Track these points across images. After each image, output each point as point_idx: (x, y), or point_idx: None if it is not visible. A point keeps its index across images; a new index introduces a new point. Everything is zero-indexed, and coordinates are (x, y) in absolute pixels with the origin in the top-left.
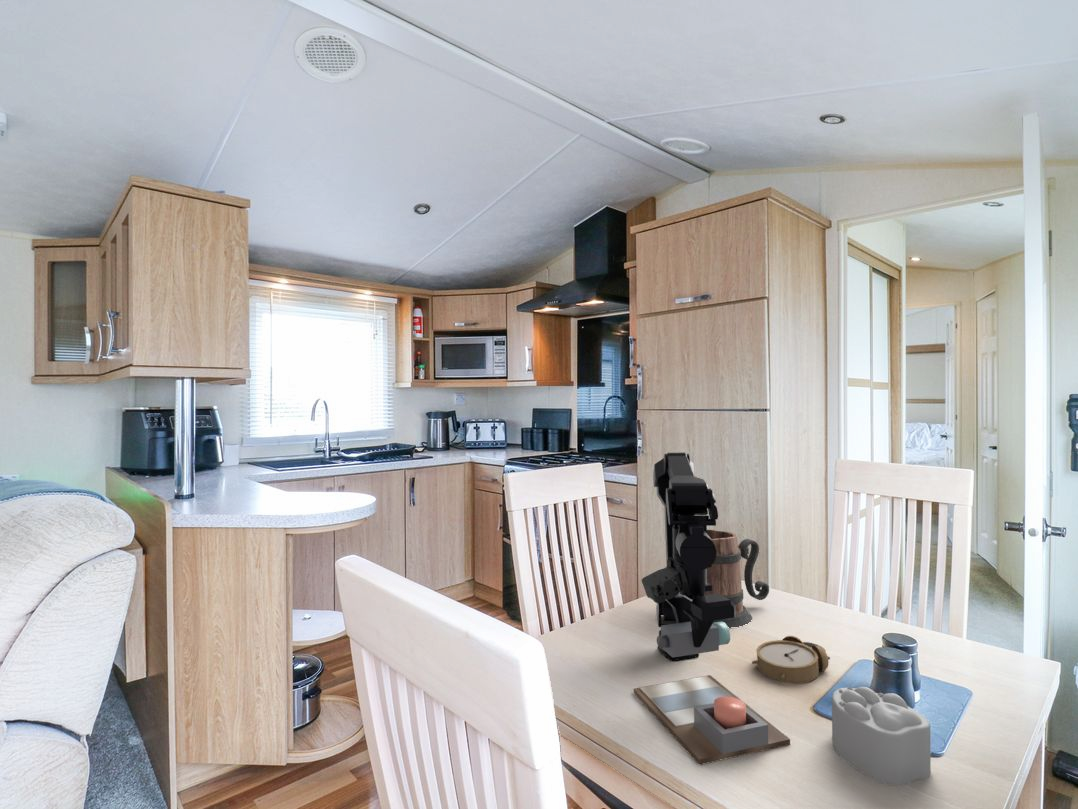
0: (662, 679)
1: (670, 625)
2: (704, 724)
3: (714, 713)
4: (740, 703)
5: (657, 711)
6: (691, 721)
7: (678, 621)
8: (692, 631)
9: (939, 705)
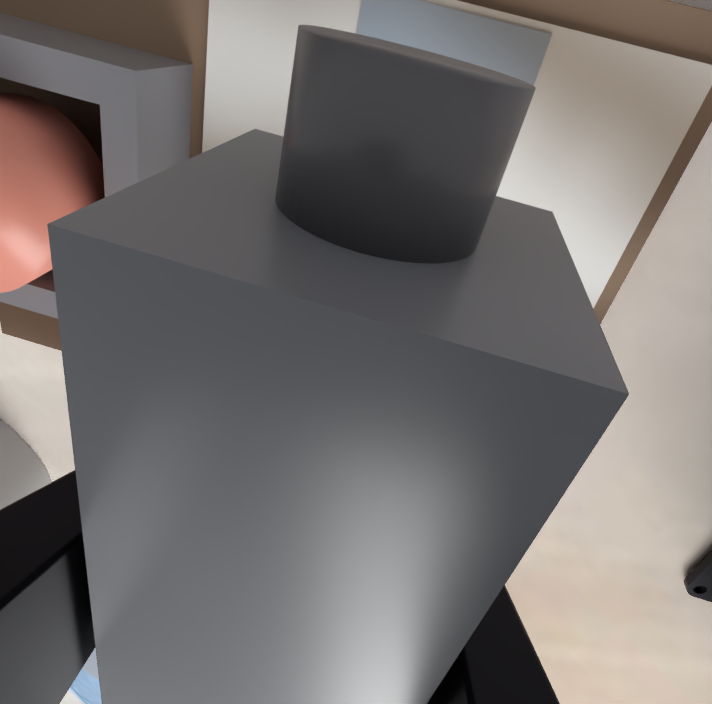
0: (695, 313)
1: (468, 524)
2: (52, 39)
3: (13, 114)
4: None
5: None
6: (215, 71)
7: (475, 690)
8: (32, 548)
9: (93, 680)
